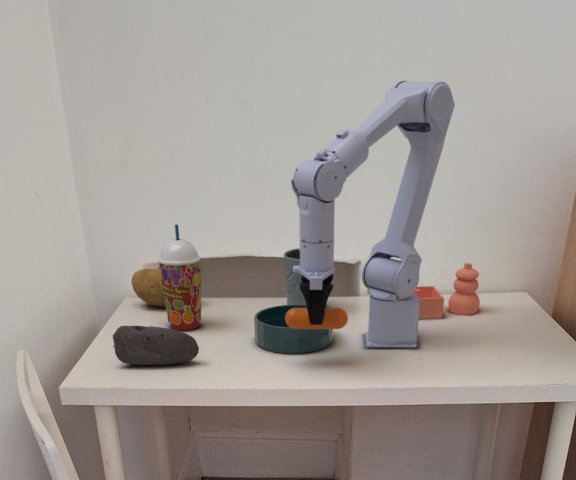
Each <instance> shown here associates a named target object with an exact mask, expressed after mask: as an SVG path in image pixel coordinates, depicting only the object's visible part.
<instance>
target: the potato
mask: <svg viewBox="0 0 576 480" xmlns="http://www.w3.org/2000/svg"><path fill="white" fill-rule="evenodd" d="M131 286H132V289H133V292H134V294H136V296H137V298H139V299H140V300H142V301H143V302H144V303H146V304H147V305H151V306H154V307H158V308H166V305H165V299H164V292H163V286H162V280H161V274H160V268H143V269H139V270H137V271H135V272H134V273H133V275H132V277H131Z"/></svg>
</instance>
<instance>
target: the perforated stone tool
mask: <svg viewBox="0 0 576 480" xmlns="http://www.w3.org/2000/svg"><path fill="white" fill-rule="evenodd" d="M112 339H113V346H112V348H114V354H115V356H116V358H117V359H118V360H119V361H120V362H122V363H123V364H127V365H135V366H164V365H179V364H184V363H187V362H188V363H189V362H190V361H193V360H194V359H195V358H196V357H197V356H198V354H199V351H200V346H199V345H198V342H197V340H196V339H195V338H194V337H193V336H192V335H190V334H188V333H186V332H184V331H182V330H176V329H173V328H168V327H161V326H151V325H149V326H144V325H121V326H119V327H117V329H116V330H115V331H114V333H113V334H112Z"/></svg>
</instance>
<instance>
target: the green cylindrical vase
mask: <svg viewBox="0 0 576 480" xmlns="http://www.w3.org/2000/svg"><path fill="white" fill-rule="evenodd" d="M283 265H284V273H285V283H286V284H285V287H286V305H306V302H305V298H304V296H303V294H302V292H301V290H300V282H302V280H301V276H302V274H300V273H299V272H293V266H298V265H300V247H298V248H292V249H288V250H286V251H285V252H284V253H283ZM326 308H328V303H327V304H326Z"/></svg>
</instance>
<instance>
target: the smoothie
mask: <svg viewBox="0 0 576 480" xmlns="http://www.w3.org/2000/svg"><path fill="white" fill-rule="evenodd" d="M174 228H175V229H174V232H175V239H172V240H170V241H168V242H167V243H166V244H164V246H163V247H162V249H161V251H160V254H159V257H158V258H157V261H158V266H159V269H160V274H161V280H162V286H163V292H164V299H165V305H166V307H165V311H166V317H167V322H168V323H169V324H170V327H171V329H174V330H178V331H191V330H194V329H196V328H198V327H199V326H200V322H201V320H202V277H201V271H202V269H201V265H202V264H201V259H202V257H201V256H200V255H199V253H198V252H197V249H196V248H195V247H194V245H193V244H191V242H189V241H187V240H185V239H181V238H180V230H179V224H174Z"/></svg>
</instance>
